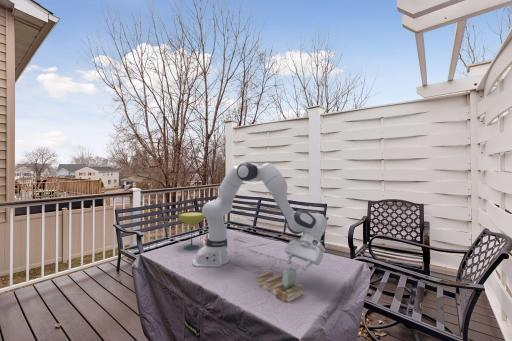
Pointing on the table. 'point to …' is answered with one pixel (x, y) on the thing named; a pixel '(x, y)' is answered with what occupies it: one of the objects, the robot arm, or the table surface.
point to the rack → (278, 286)
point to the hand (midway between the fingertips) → (295, 266)
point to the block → (289, 279)
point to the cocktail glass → (191, 223)
